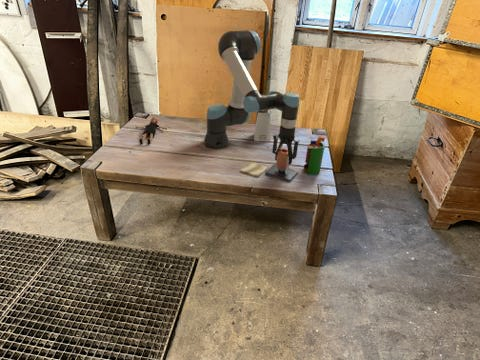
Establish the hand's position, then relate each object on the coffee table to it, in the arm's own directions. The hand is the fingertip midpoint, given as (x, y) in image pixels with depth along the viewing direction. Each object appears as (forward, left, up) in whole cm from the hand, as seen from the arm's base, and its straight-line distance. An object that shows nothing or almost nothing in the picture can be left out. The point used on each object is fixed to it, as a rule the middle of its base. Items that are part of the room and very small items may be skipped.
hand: (282, 167), depth 168 cm
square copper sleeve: (0, 0, +1) cm, 1 cm away
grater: (-30, +36, -4) cm, 47 cm away
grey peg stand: (0, 0, -4) cm, 4 cm away
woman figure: (-92, -2, -4) cm, 92 cm away
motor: (+12, +13, -4) cm, 18 cm away
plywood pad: (-14, -5, -4) cm, 15 cm away
